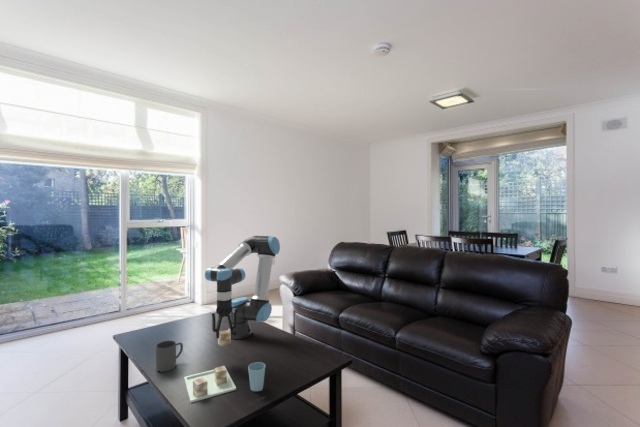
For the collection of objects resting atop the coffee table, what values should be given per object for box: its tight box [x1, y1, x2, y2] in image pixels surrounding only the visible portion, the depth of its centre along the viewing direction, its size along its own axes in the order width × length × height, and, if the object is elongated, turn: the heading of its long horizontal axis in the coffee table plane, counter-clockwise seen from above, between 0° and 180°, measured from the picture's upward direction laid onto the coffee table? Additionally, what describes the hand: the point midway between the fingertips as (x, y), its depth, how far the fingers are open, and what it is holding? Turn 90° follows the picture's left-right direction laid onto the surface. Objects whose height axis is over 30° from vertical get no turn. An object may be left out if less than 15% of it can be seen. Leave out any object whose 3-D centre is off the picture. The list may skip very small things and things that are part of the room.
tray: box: [183, 368, 237, 404], centre depth 144 cm, size 19×21×2 cm
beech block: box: [214, 365, 228, 385], centre depth 146 cm, size 4×4×6 cm
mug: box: [155, 340, 184, 373], centre depth 161 cm, size 14×9×12 cm
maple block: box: [193, 377, 208, 398], centre depth 135 cm, size 4×4×6 cm
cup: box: [247, 361, 266, 392], centre depth 141 cm, size 8×8×10 cm
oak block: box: [220, 329, 231, 347], centre depth 164 cm, size 4×4×6 cm
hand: (224, 342), depth 164 cm, fingers closed on oak block, 4 cm apart
